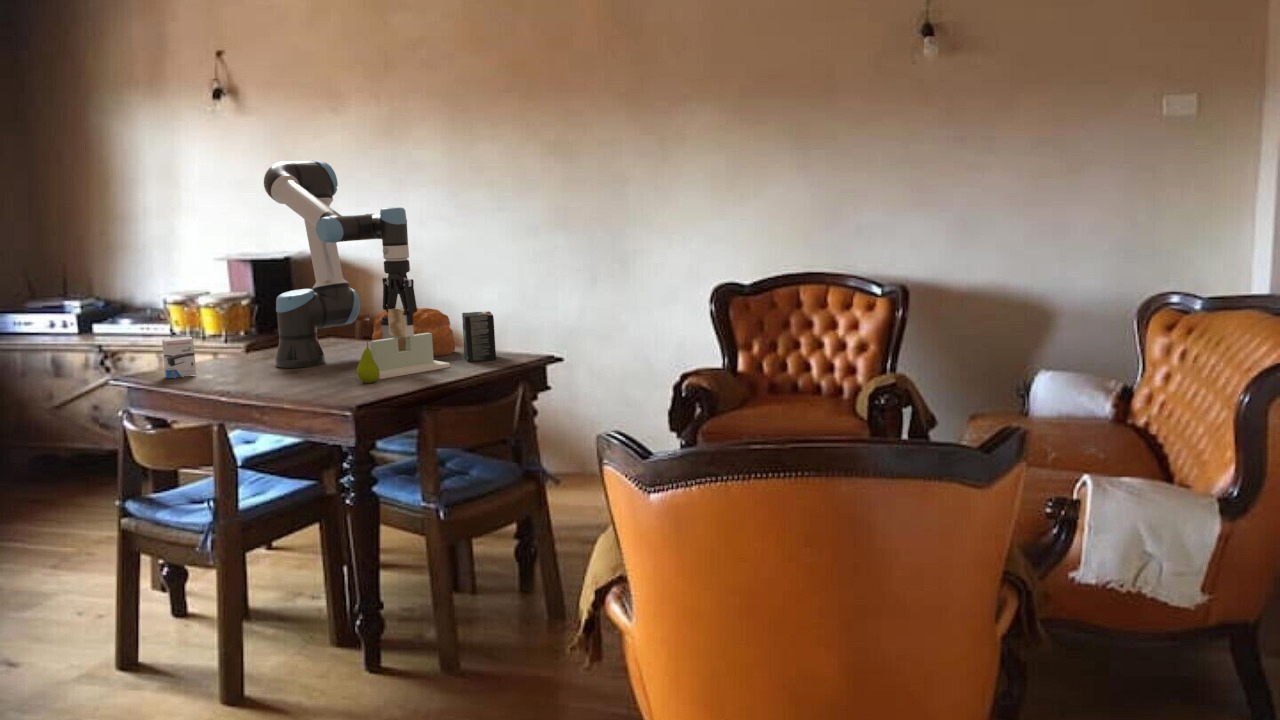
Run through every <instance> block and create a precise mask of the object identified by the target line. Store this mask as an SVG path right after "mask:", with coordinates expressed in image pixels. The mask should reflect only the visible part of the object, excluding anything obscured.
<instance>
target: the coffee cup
mask: <svg viewBox="0 0 1280 720" xmlns="http://www.w3.org/2000/svg"><path fill="white" fill-rule="evenodd" d="M381 326H382V333H383V339H387V338H398V349H399V351H406V338H405V337H398V336H392V335H390V334H389V322H388V316H383V317H382V320H381Z"/></svg>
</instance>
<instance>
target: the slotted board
mask: <svg viewBox="0 0 1280 720" xmlns="http://www.w3.org/2000/svg"><path fill="white" fill-rule="evenodd" d="M405 338H406V351H399V349H398V338H387V339H380V340H374V341H372V340H370V342H369V343H370V351H371V353H372V357H373V359H374V362H375V363H376V364H377V366H378V368H379V373H380V375H379V378H378V379H381V380H382V379H383V380H384V379H388V378H395V377H398V376H399V377H401V376H407V375H410V374H411V375H412V374H418V373H423V372H430V371H435V370H441V369H446V368H450V367H451V364H450V363H449V362H447V361H446V362H445V361H439V360H434V356H433V343H432V333H422V334H415V335H414V336H411V337H405Z"/></svg>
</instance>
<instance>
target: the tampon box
mask: <svg viewBox="0 0 1280 720" xmlns="http://www.w3.org/2000/svg"><path fill="white" fill-rule="evenodd" d="M461 314H462V315H461V317H462V318H461V319H462V335H463V336H462V337H463V356H464V358H465V360H466V361H467V362H468V363H469V362H470V363H471V362H484V361H485V362H487V361H497V355H496V354H497V353H496V336H495V321H494V320H495V319H494V314H493V313H492V312H491V311H472V312H462V313H461Z"/></svg>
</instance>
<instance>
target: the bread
mask: <svg viewBox="0 0 1280 720" xmlns="http://www.w3.org/2000/svg"><path fill="white" fill-rule="evenodd" d="M400 309H403V307H401V308H400ZM383 316H388V312H386V310H383V311H381V312H380V314H379V315H378V316H376V318H375V320H374V321H373V333H372V335H371V336H372V337H371V341H374V340H380V339H383V333H382V326H381V320H382V317H383ZM413 330H414V335H415V334H422V333H432V343H433V357H441V356H447V355H450V354H452V353H454V352H455V350H456V342H455V341H454V340H455V339H454V334H453V333H454V332H453V330H452V328H451V321H450V318H449V316H448V315H447V314H444V313H443V312H441V311H440V310H438V309H436V308H434V309H433V308H428V307H424V308H422V307H421V308H419V307H417V312H415V313H414V314H413Z"/></svg>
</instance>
